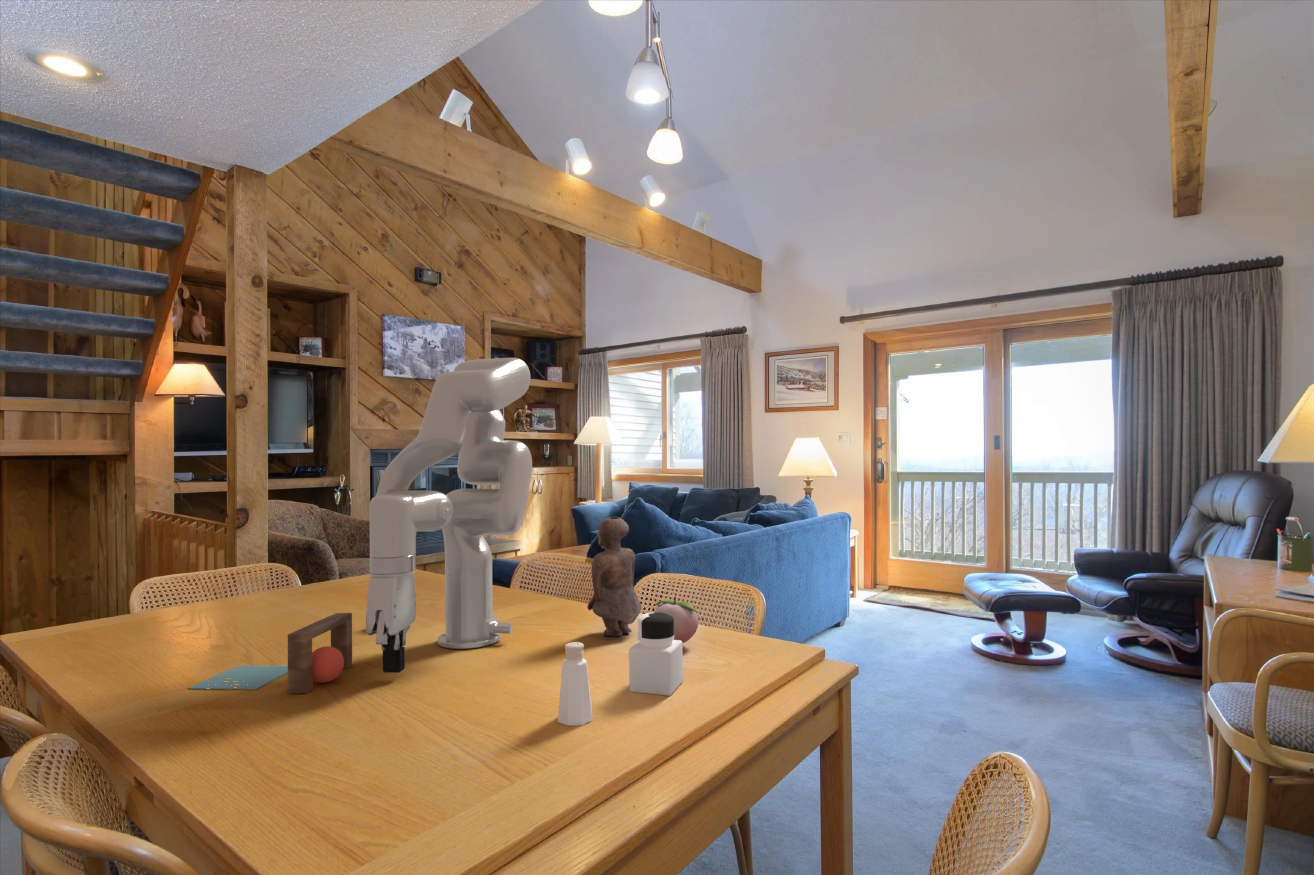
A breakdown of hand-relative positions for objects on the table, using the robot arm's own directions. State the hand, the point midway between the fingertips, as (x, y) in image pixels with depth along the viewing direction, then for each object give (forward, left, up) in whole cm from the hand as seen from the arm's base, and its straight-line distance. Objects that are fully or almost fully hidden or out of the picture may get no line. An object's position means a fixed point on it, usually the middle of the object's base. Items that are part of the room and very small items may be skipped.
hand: (393, 670), depth 120 cm
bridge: (+13, 0, -2) cm, 13 cm away
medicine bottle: (-46, +2, -2) cm, 46 cm away
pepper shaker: (-35, +16, -2) cm, 39 cm away
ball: (+11, +2, +2) cm, 12 cm away
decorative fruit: (-48, -21, -2) cm, 52 cm away
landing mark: (+27, 0, -2) cm, 27 cm away
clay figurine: (-35, -30, -2) cm, 46 cm away
